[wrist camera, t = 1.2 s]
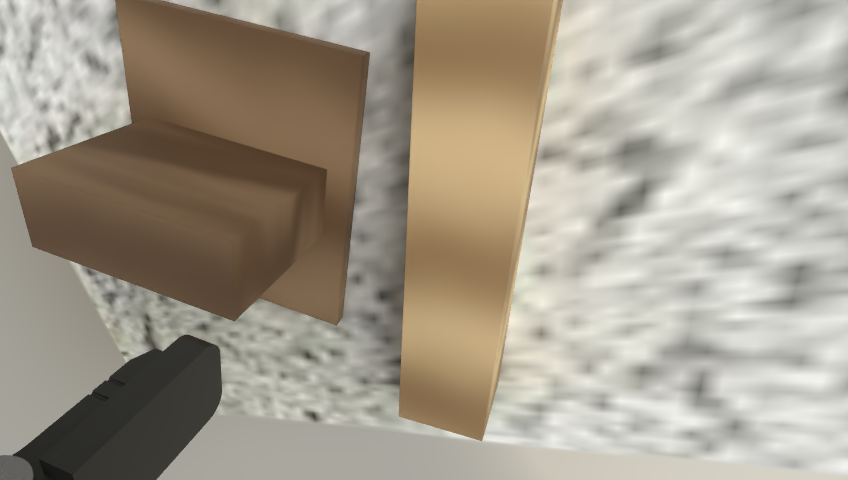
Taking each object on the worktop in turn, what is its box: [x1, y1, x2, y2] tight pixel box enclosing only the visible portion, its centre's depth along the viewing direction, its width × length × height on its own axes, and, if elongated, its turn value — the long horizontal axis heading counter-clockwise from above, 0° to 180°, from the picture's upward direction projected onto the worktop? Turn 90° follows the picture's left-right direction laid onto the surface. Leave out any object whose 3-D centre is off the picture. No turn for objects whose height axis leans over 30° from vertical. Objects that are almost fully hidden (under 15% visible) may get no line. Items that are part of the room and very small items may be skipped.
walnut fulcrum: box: [11, 0, 370, 325], centre depth 20 cm, size 12×10×7 cm
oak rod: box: [399, 0, 563, 441], centre depth 19 cm, size 16×4×4 cm, turn 177°
